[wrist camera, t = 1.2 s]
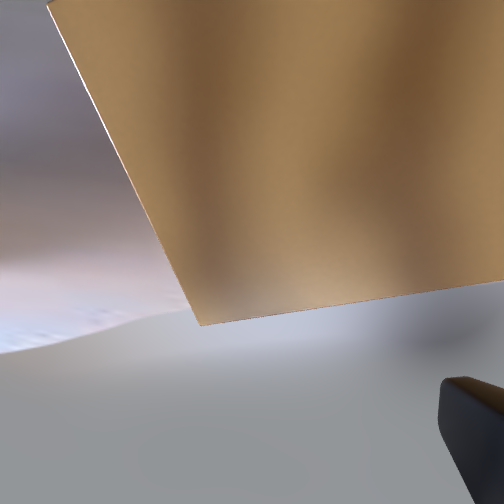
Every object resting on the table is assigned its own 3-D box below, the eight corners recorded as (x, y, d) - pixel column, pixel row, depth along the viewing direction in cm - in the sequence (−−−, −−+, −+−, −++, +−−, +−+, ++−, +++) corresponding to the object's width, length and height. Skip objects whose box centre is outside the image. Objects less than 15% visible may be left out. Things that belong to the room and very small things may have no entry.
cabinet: (692, -233, 13) (1021, -437, 7) (648, 152, 19) (806, 234, 12) (140, -2, 19) (43, 3, 12) (234, 240, 24) (199, 327, 18)
